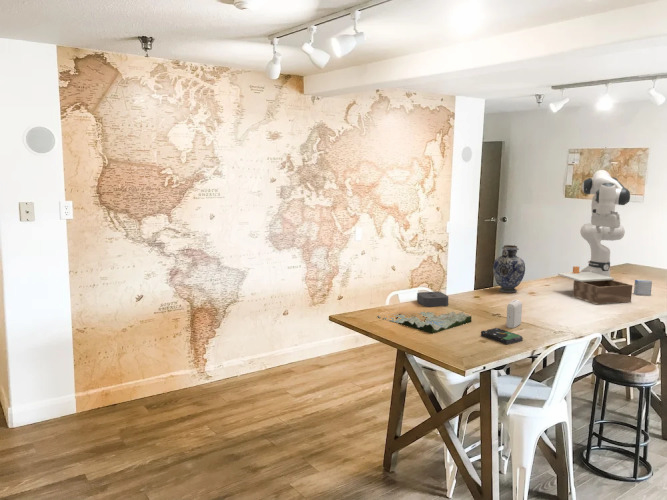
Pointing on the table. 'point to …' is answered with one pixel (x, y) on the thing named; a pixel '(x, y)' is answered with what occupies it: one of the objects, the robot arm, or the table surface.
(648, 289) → the medicine box
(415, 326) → the topographic map model
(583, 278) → the box lid
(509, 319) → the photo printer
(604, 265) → the robot arm
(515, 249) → the decorative vase
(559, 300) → the table surface
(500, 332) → the disk drive
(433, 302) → the streaming box
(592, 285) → the wooden box
